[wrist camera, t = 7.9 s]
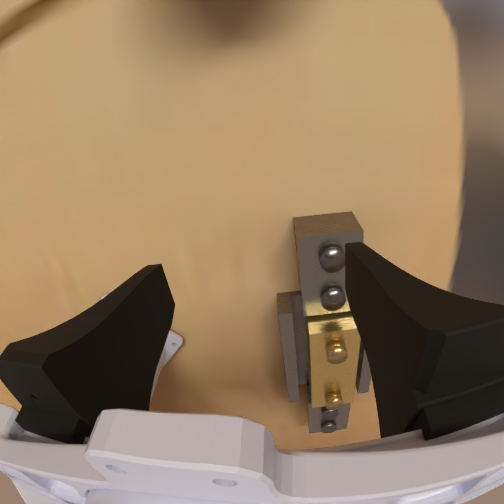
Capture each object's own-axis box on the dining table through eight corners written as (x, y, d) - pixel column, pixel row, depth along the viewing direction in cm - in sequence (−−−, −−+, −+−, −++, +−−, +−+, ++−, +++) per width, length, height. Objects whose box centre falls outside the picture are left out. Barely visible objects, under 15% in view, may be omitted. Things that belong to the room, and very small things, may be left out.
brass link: (345, 368, 27) (354, 411, 23) (308, 373, 28) (312, 417, 23) (349, 292, 23) (364, 338, 19) (304, 297, 24) (310, 345, 19)
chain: (357, 404, 31) (363, 430, 28) (291, 412, 32) (292, 439, 29) (375, 209, 20) (393, 231, 17) (267, 220, 21) (267, 246, 18)
